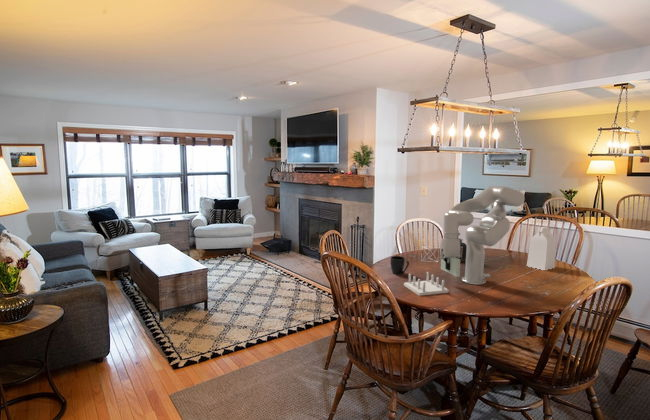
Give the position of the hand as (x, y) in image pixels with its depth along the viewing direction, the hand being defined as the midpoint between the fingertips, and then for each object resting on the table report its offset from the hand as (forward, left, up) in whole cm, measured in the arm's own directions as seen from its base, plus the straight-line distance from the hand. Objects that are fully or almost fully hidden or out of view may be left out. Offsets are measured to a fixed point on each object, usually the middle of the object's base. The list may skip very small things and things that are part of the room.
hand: (449, 269), depth 203 cm
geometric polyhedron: (-19, -49, -10) cm, 53 cm away
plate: (0, 0, -2) cm, 2 cm away
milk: (-80, -17, -10) cm, 82 cm away
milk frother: (-39, -44, -10) cm, 59 cm away
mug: (+15, -27, -10) cm, 32 cm away
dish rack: (+14, 0, -10) cm, 17 cm away
